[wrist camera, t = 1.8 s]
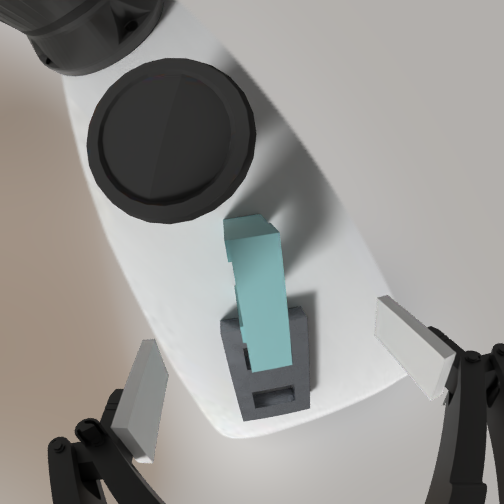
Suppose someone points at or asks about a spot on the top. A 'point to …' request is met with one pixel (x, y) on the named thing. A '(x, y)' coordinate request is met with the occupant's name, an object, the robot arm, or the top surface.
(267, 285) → the teal u-shaped block
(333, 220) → the top surface
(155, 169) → the coffee cup
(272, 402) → the grey slotted slab
